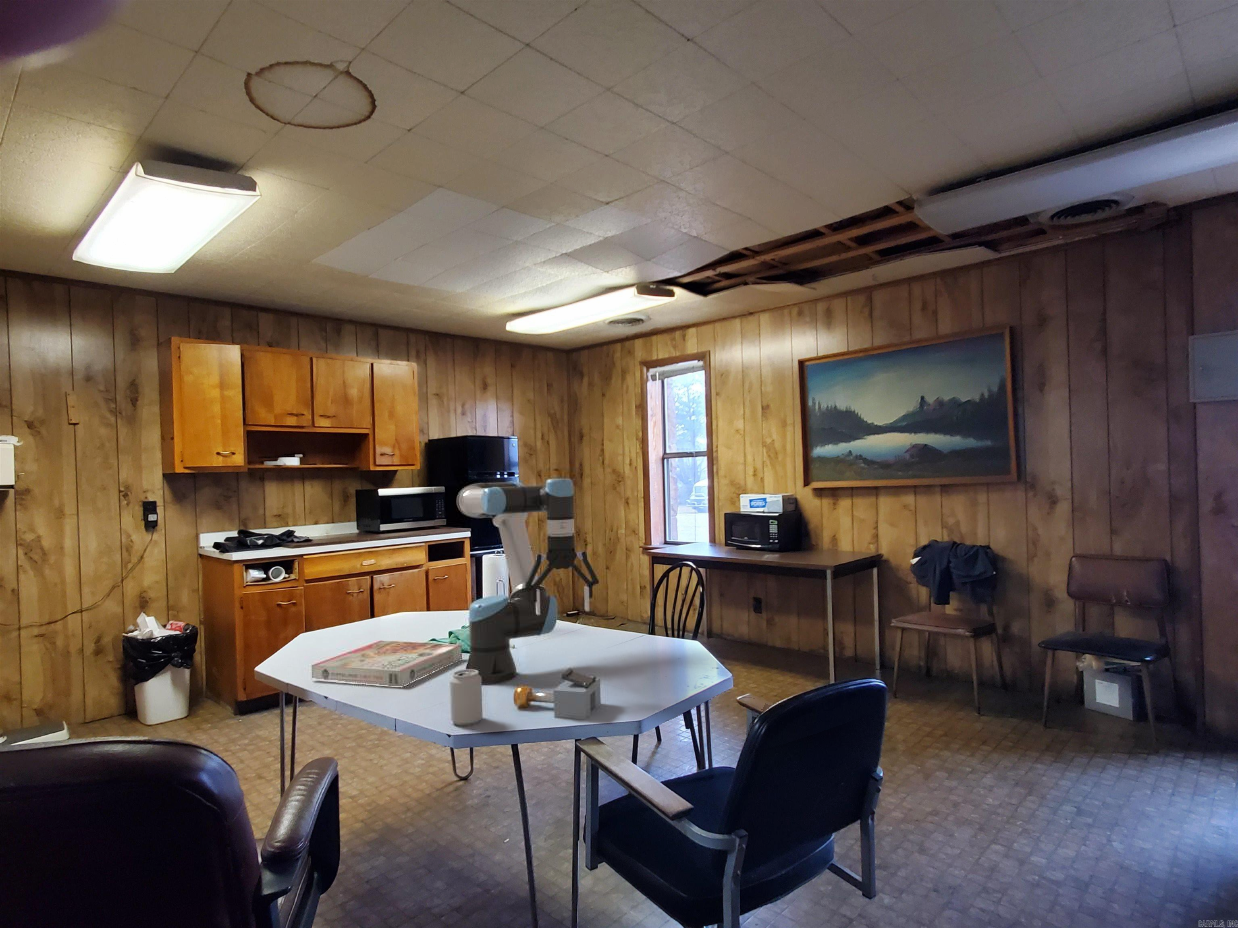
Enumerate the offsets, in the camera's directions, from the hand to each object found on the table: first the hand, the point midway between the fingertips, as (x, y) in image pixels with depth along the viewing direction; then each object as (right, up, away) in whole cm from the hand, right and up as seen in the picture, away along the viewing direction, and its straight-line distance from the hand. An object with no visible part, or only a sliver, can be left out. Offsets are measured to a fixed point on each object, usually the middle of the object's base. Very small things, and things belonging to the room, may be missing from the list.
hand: (562, 612), depth 192 cm
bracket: (+5, -21, -16) cm, 27 cm away
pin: (-4, -21, -13) cm, 26 cm away
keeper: (+5, -14, -16) cm, 22 cm away
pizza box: (-57, -25, +28) cm, 68 cm away
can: (-21, -22, -22) cm, 38 cm away
